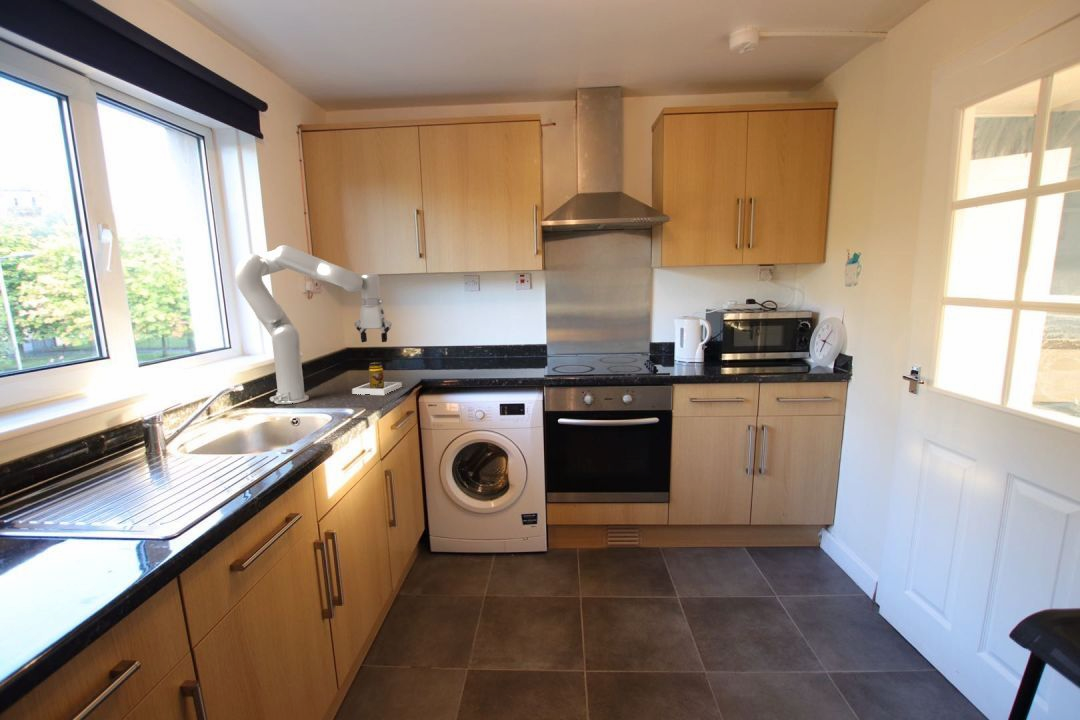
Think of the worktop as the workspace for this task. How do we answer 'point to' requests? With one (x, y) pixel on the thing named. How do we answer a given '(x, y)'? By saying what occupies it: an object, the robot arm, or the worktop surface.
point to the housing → (366, 390)
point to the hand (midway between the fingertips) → (374, 341)
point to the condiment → (376, 375)
